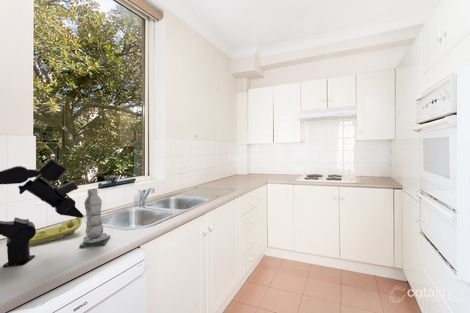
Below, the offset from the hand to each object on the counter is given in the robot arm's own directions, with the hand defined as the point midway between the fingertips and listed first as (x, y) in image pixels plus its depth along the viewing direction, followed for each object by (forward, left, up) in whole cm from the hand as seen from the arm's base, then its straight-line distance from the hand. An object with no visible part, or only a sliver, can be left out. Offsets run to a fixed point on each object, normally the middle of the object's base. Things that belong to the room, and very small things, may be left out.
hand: (80, 214), depth 97 cm
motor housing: (+2, -4, -13) cm, 14 cm away
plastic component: (+14, +16, -13) cm, 25 cm away
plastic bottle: (+2, -4, -11) cm, 12 cm away
